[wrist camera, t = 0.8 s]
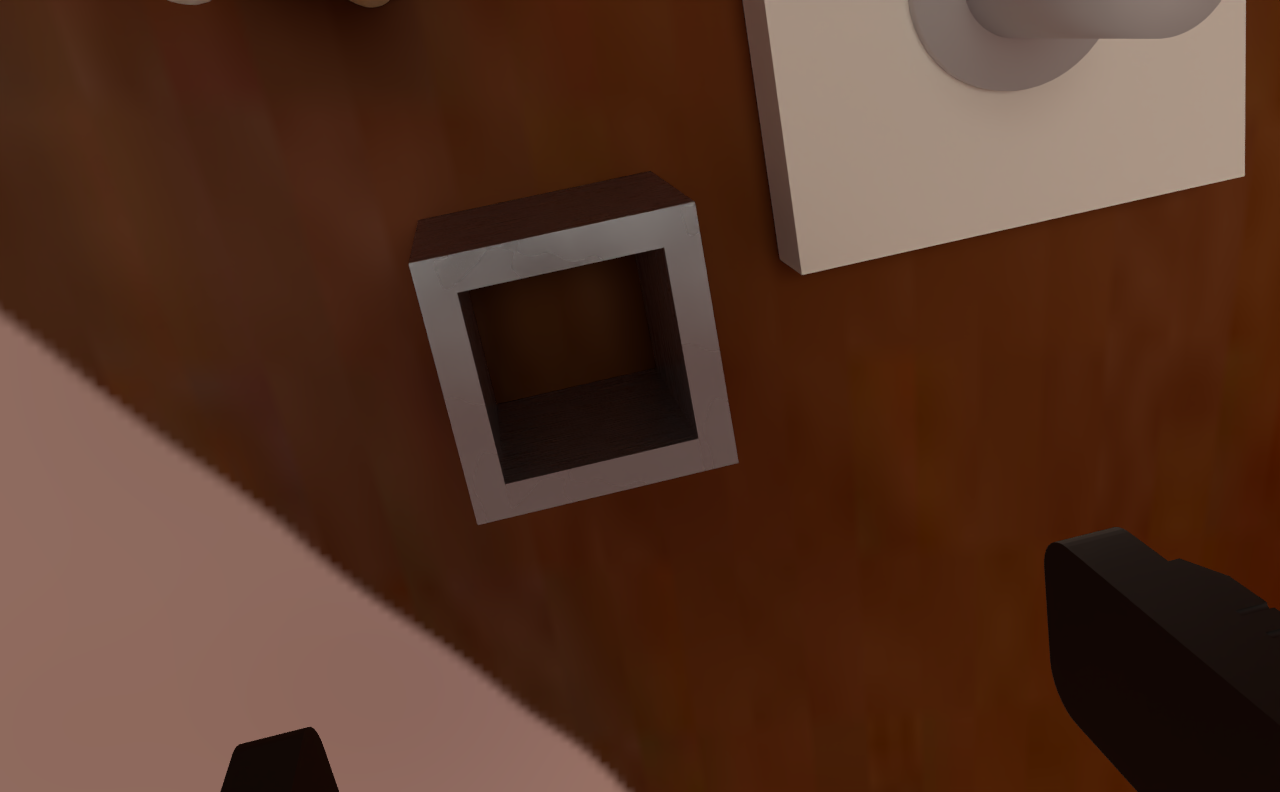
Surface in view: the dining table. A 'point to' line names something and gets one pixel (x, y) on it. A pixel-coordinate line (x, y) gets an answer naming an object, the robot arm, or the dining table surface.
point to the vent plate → (985, 114)
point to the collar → (591, 413)
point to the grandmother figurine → (362, 0)
